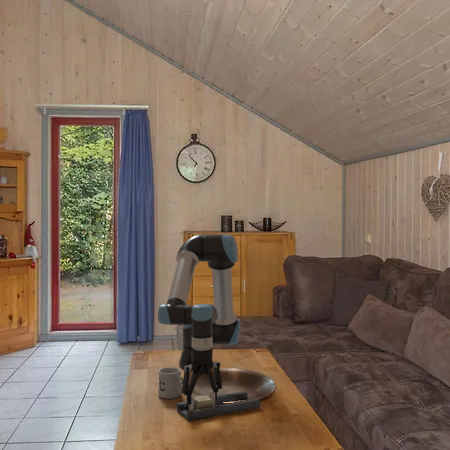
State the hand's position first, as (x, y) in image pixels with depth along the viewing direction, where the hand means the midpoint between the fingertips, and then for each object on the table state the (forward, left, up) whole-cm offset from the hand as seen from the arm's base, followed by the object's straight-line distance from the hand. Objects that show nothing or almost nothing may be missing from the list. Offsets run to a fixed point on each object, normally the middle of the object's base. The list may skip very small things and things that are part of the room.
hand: (201, 410), depth 204 cm
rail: (0, +7, -1) cm, 7 cm away
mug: (-21, -3, -1) cm, 21 cm away
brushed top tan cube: (0, 0, -1) cm, 1 cm away
